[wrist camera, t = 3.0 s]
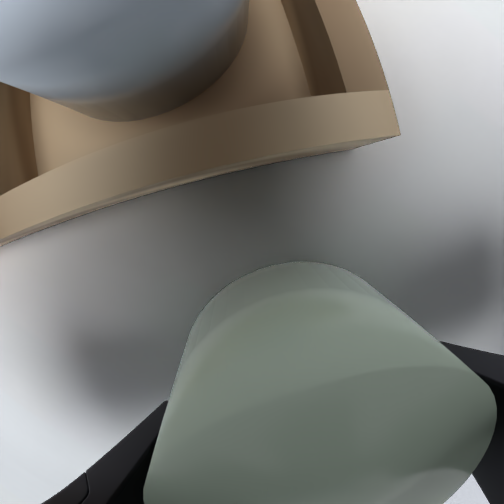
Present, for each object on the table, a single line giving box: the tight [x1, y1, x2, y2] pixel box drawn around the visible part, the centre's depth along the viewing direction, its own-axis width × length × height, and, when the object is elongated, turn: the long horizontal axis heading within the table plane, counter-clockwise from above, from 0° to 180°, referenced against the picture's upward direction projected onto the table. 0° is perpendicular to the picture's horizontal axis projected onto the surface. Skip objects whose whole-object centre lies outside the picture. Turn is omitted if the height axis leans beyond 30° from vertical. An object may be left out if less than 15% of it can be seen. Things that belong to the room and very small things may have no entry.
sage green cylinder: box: [143, 261, 497, 504], centre depth 6 cm, size 6×6×5 cm
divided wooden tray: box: [0, 0, 401, 246], centre depth 6 cm, size 20×10×3 cm, turn 103°
